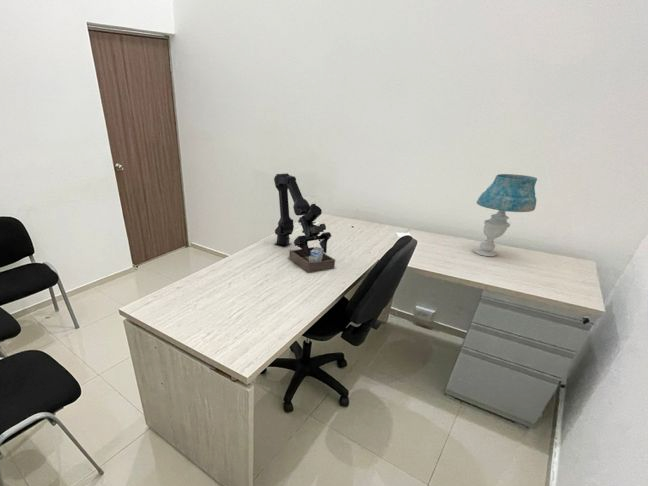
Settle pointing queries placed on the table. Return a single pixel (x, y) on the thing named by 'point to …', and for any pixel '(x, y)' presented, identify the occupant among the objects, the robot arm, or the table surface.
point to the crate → (302, 261)
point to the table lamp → (505, 205)
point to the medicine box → (316, 255)
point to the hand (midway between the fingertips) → (317, 254)
